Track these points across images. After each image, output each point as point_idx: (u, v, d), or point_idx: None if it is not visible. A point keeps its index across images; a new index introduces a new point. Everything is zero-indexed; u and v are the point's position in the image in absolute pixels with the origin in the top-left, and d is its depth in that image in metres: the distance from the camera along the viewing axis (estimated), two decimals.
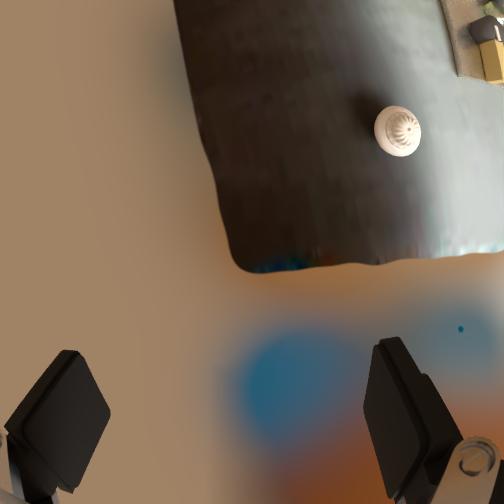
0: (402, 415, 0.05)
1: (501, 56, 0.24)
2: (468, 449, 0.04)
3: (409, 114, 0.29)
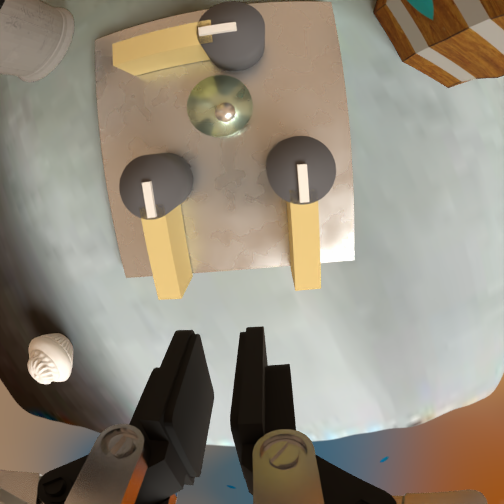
0: None
1: (156, 253, 0.21)
2: (273, 444, 0.05)
3: (44, 352, 0.26)
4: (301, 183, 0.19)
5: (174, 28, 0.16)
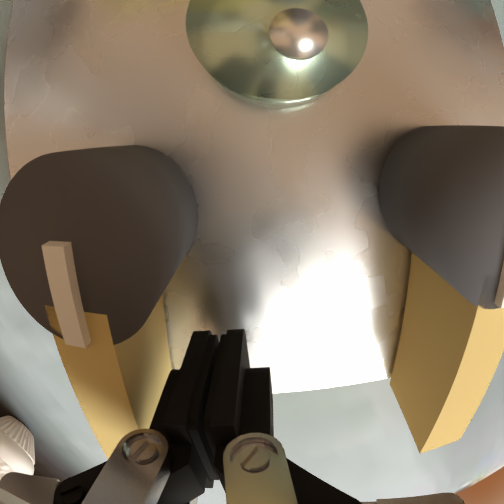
0: None
1: (98, 409, 0.07)
2: (243, 448, 0.05)
3: None
4: None
5: None
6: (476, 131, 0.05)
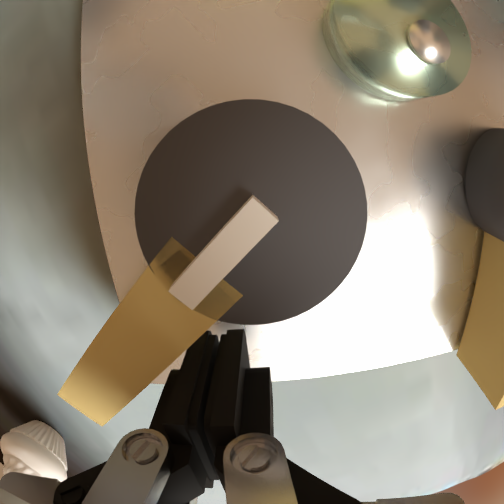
0: None
1: (117, 353, 0.07)
2: (243, 448, 0.05)
3: (23, 461, 0.12)
4: None
5: None
6: None
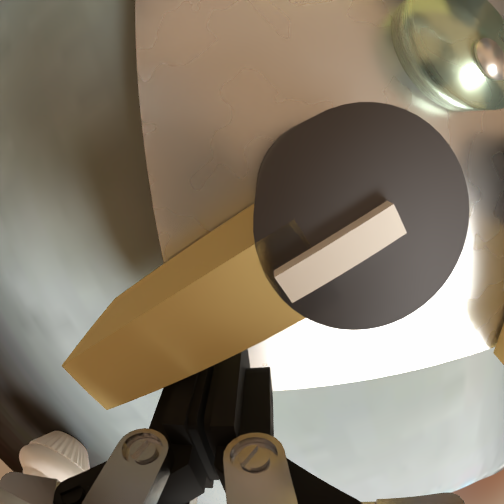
0: None
1: (168, 335, 0.06)
2: (243, 447, 0.05)
3: (46, 475, 0.12)
4: None
5: None
6: None
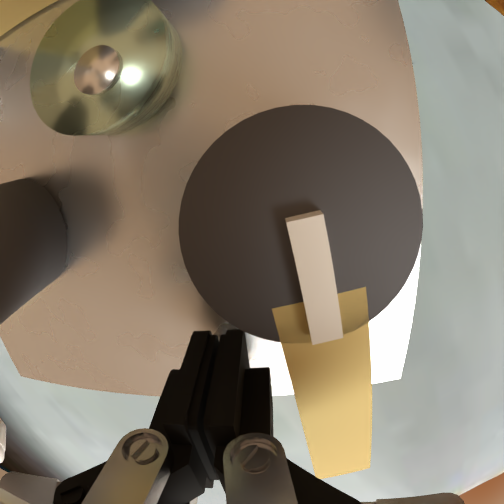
0: None
1: None
2: (243, 448, 0.05)
3: None
4: (311, 287, 0.05)
5: None
6: None
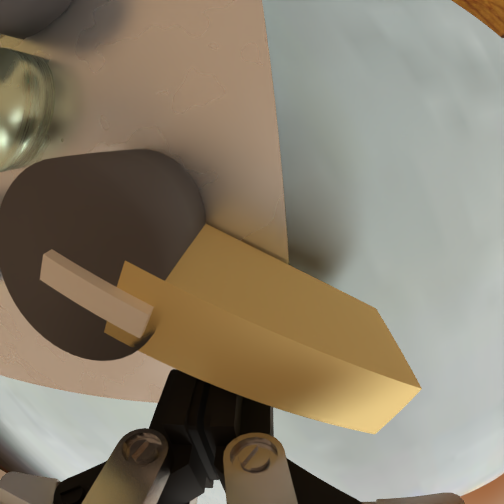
0: None
1: None
2: (243, 447, 0.05)
3: None
4: (86, 301, 0.05)
5: None
6: None
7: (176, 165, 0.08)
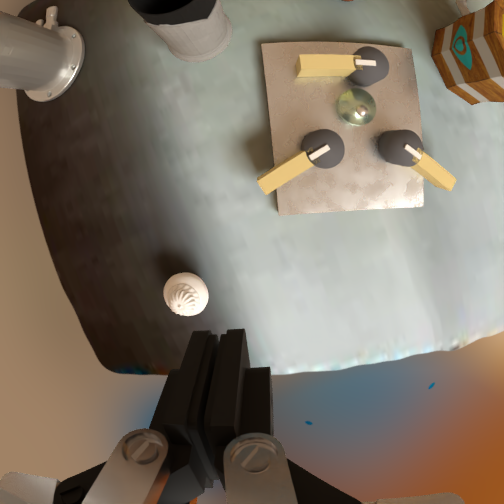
0: None
1: (288, 168, 0.32)
2: (243, 448, 0.05)
3: (189, 284, 0.38)
4: (413, 152, 0.30)
5: (340, 55, 0.27)
6: (388, 145, 0.31)
7: None
